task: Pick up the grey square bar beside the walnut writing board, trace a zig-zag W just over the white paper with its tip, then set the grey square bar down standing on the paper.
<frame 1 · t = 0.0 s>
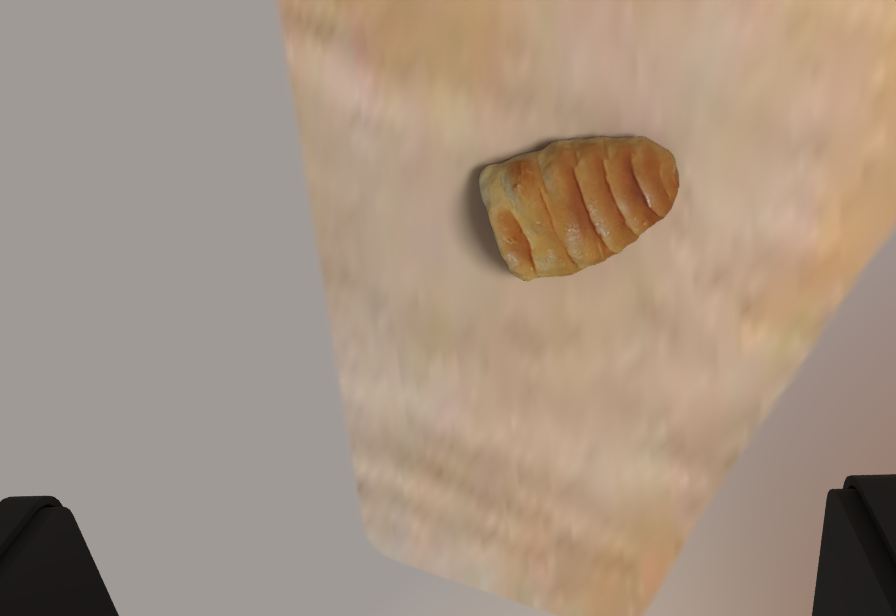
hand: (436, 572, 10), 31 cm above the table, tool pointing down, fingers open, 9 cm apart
pastry: (566, 192, 41), on the table
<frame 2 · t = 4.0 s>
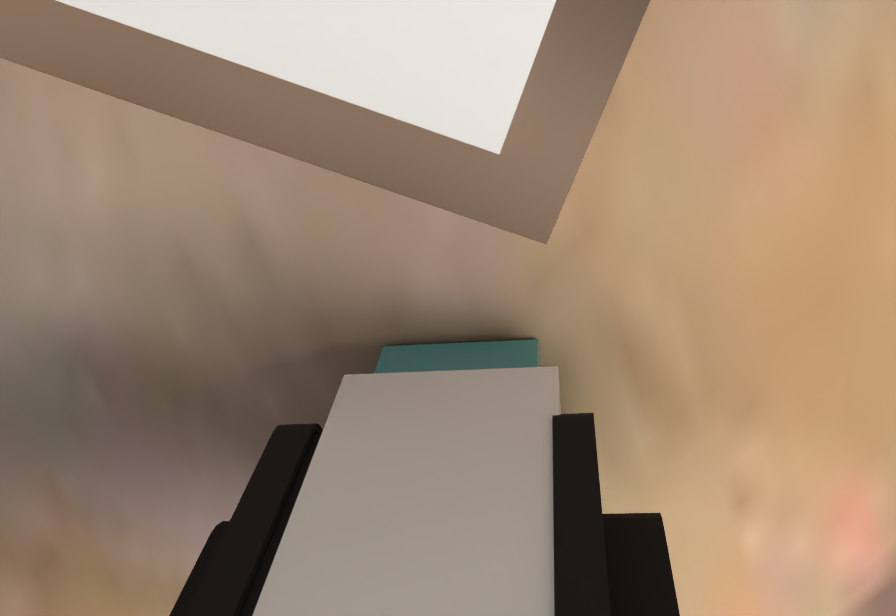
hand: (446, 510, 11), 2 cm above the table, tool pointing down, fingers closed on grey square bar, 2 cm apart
grey square bar: (467, 405, 13), on the table, touching gripper
when the fingers open (4 cm above the table, at t = 11.8 s): grey square bar stays where it is, resting on paper.
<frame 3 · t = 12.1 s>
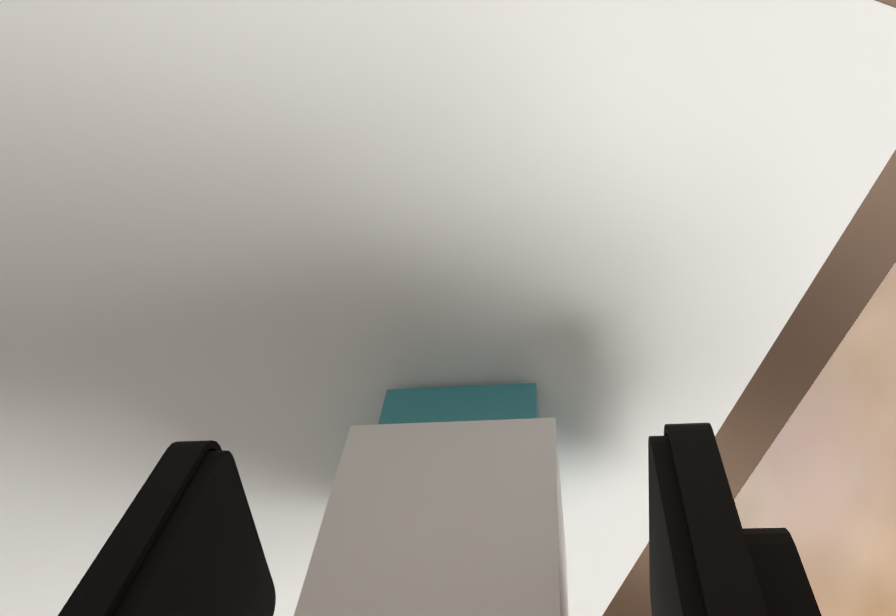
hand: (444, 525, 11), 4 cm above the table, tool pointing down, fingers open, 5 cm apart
paper: (314, 468, 14), resting on board
grey square bar: (469, 442, 13), point 1 cm above the table, touching paper
board: (325, 440, 15), on the table
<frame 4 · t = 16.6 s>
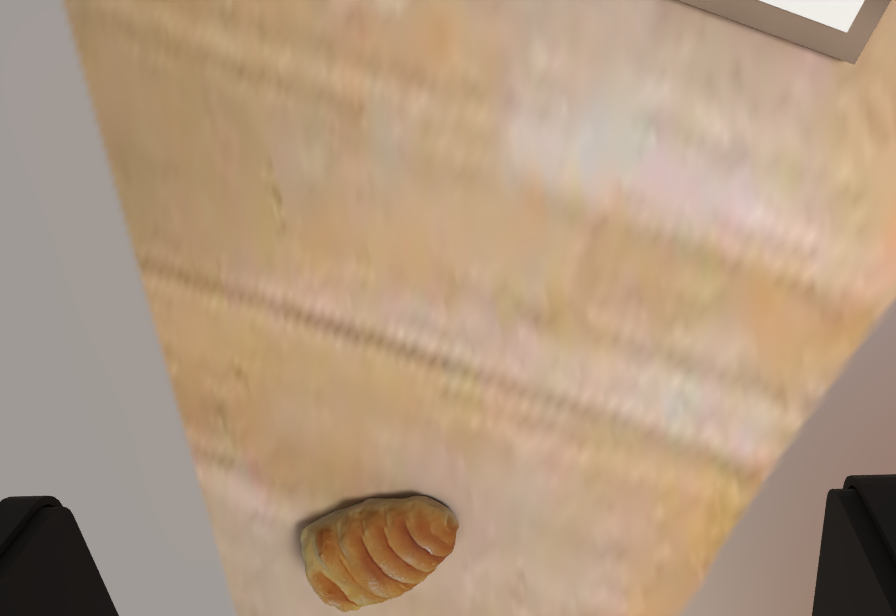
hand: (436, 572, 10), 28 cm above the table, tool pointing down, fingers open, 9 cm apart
pastry: (378, 529, 49), on the table
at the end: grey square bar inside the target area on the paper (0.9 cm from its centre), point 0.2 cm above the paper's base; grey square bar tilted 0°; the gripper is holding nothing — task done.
